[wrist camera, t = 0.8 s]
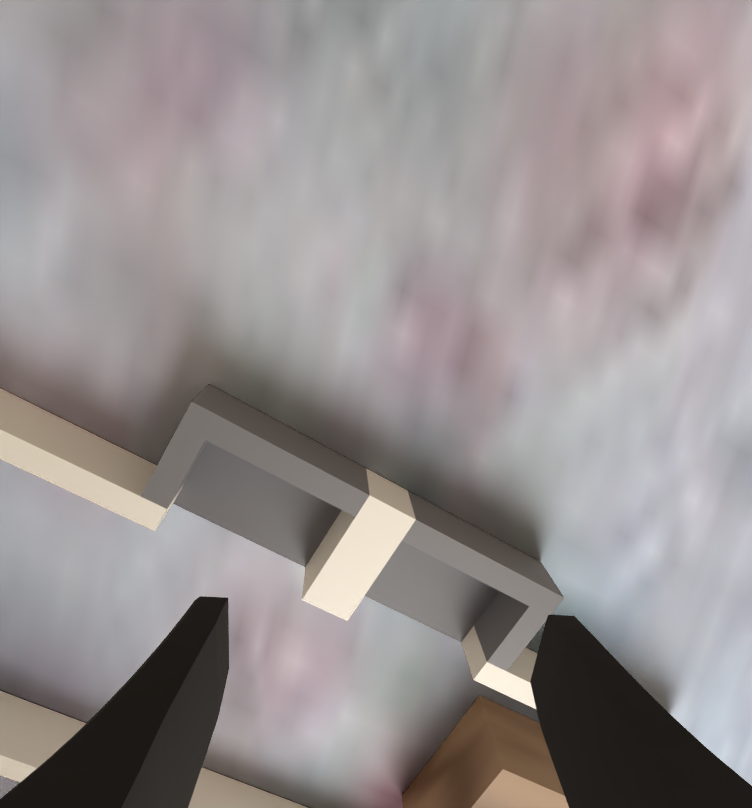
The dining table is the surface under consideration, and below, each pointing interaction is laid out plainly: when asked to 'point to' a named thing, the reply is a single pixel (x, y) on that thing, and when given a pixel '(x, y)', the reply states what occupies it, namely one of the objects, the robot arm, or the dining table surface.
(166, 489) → the trap lane
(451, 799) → the walnut block
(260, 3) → the dining table surface
